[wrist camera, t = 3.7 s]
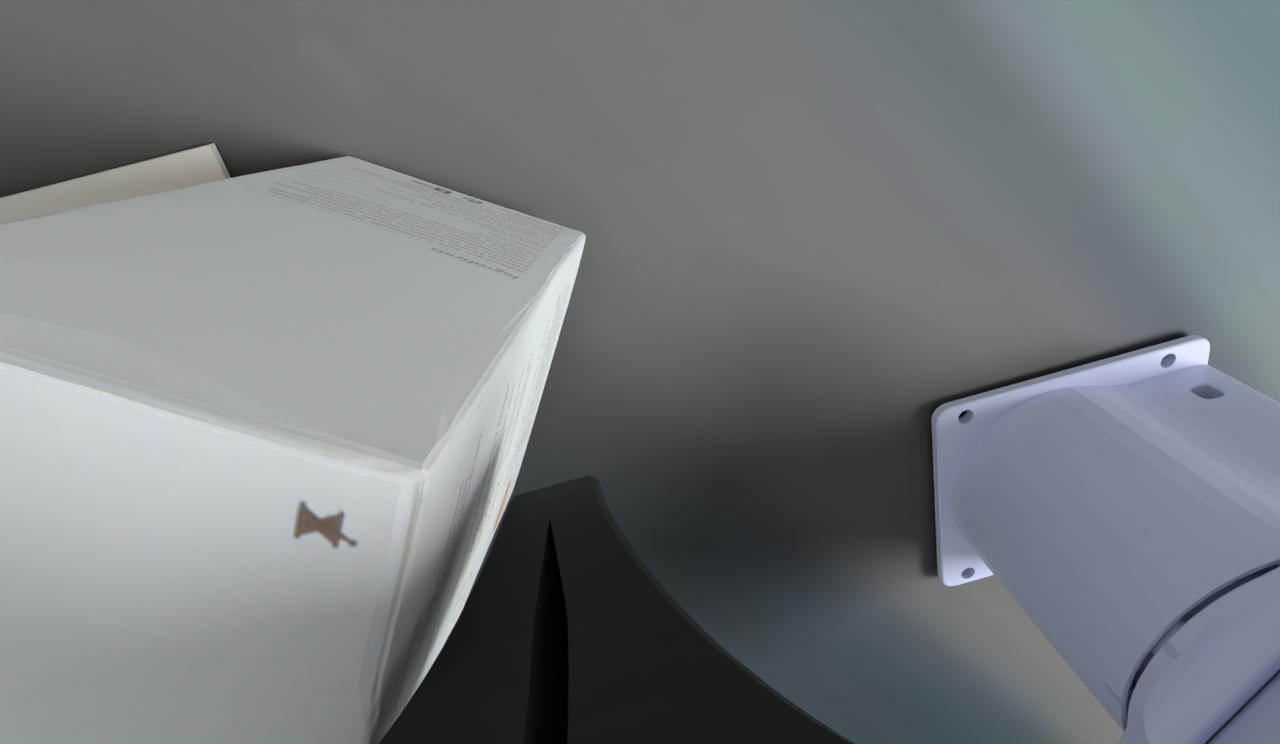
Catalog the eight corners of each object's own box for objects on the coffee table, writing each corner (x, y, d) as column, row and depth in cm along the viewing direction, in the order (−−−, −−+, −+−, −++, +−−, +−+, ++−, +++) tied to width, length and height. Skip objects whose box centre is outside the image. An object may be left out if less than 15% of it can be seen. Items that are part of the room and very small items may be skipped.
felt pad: (213, 142, 18) (209, 145, 18) (399, 522, 23) (397, 528, 23) (-330, 282, 17) (-343, 286, 17) (-9, 634, 23) (-15, 642, 23)
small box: (346, 150, 18) (-302, 250, 6) (591, 230, 19) (445, 472, 7) (298, 432, 21) (-216, 892, 9) (513, 496, 22) (306, 1017, 9)
